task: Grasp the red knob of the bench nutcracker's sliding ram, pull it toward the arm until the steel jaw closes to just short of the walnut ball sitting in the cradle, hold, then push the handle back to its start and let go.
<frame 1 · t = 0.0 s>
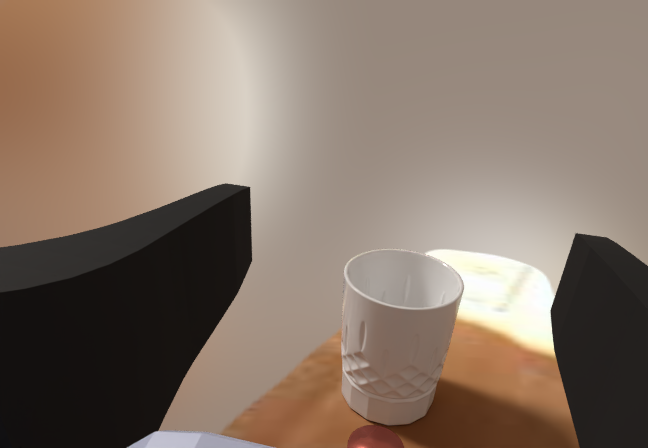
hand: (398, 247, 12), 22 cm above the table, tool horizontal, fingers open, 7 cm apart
white cup: (386, 394, 39), on the table
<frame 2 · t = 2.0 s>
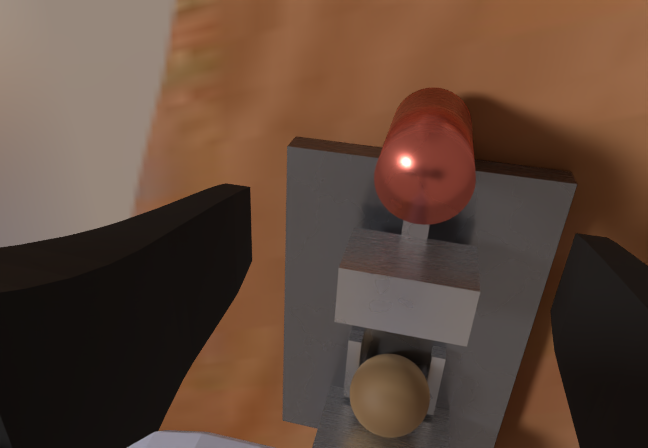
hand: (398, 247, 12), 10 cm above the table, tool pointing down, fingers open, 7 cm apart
bench: (402, 310, 25), on the table
ram handle: (416, 220, 18), point 4 cm above the table, slide at 0.0 cm
nut: (393, 366, 25), point 1 cm above the table, touching bench
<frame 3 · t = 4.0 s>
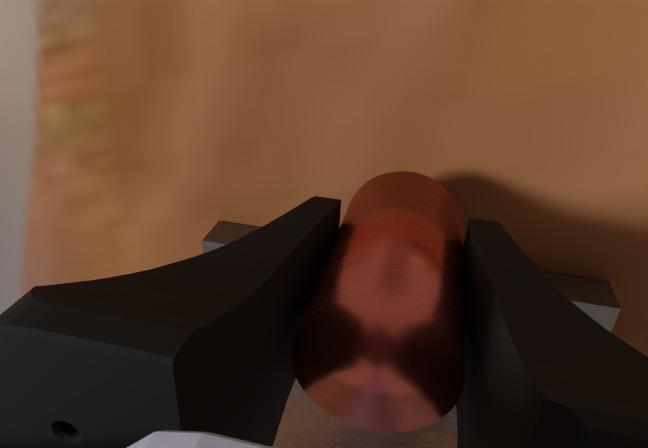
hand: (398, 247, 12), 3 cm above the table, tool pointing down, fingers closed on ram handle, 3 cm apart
bench: (374, 438, 19), on the table
ram handle: (379, 376, 12), point 4 cm above the table, slide at 0.0 cm, touching gripper
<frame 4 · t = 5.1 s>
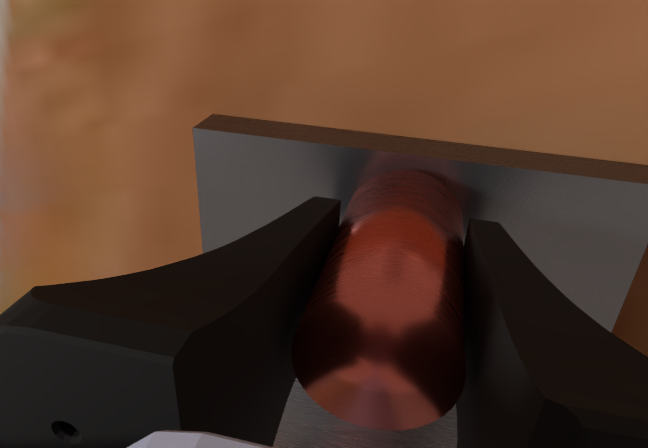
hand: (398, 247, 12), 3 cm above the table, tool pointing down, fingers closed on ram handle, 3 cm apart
bench: (384, 370, 17), on the table
ram handle: (379, 374, 12), point 4 cm above the table, slide at 3.2 cm, touching gripper
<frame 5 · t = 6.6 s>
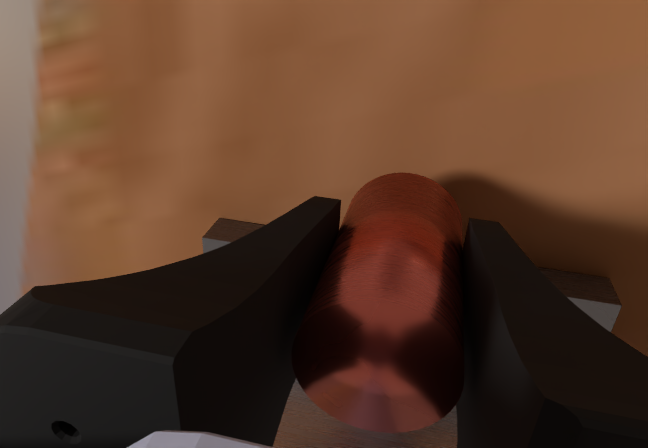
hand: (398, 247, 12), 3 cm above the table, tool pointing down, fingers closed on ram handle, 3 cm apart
bench: (375, 436, 19), on the table
ram handle: (379, 377, 12), point 4 cm above the table, slide at 0.1 cm, touching gripper
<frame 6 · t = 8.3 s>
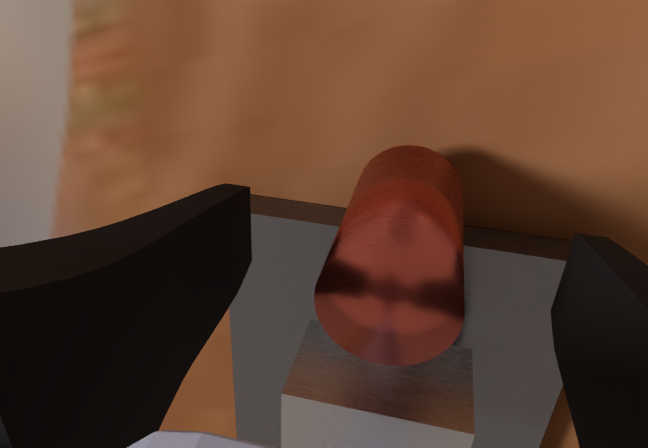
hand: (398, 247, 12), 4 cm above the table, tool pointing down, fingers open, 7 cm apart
bench: (381, 399, 20), on the table
ram handle: (387, 329, 13), point 4 cm above the table, slide at 0.1 cm
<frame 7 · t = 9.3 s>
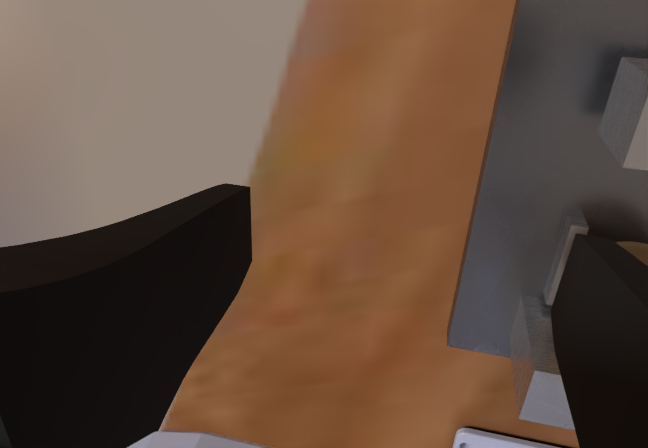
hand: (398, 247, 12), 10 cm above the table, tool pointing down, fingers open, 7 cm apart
bench: (627, 193, 20), on the table
nut: (614, 264, 20), point 1 cm above the table, touching bench
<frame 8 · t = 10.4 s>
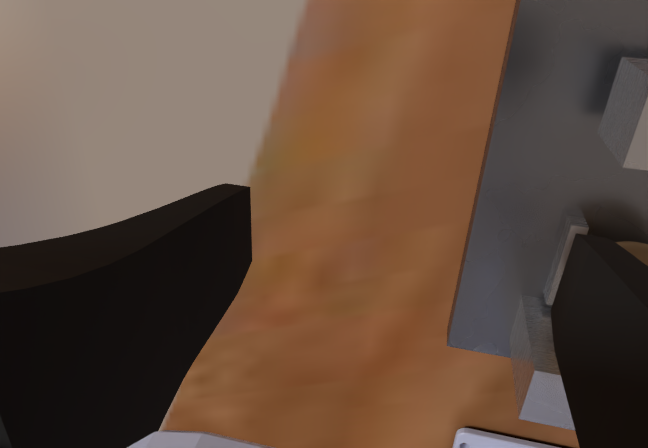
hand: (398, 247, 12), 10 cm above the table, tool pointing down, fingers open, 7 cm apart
bench: (627, 193, 20), on the table
nut: (614, 264, 20), point 1 cm above the table, touching bench
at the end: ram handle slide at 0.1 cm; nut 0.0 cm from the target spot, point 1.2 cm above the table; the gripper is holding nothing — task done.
